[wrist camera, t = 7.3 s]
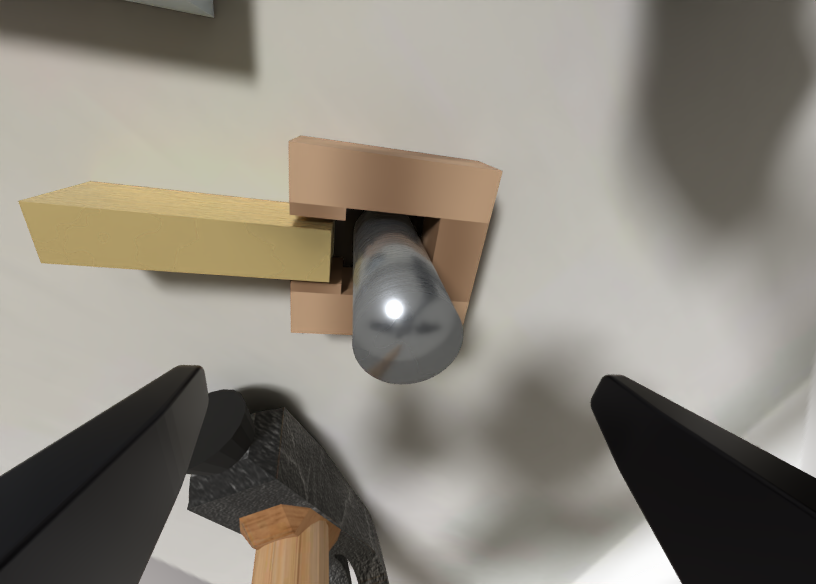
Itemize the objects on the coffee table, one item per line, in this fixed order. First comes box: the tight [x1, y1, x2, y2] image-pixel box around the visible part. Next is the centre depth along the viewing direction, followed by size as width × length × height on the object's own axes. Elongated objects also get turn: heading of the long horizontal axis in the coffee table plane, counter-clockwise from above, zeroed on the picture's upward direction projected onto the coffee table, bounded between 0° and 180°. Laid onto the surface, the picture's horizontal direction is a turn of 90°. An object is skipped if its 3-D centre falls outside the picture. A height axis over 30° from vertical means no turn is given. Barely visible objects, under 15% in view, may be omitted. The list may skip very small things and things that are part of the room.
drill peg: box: [352, 210, 463, 384], centre depth 13 cm, size 3×3×9 cm
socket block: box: [289, 136, 502, 335], centre depth 16 cm, size 8×8×3 cm
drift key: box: [19, 181, 335, 282], centre depth 14 cm, size 10×2×4 cm, turn 82°
